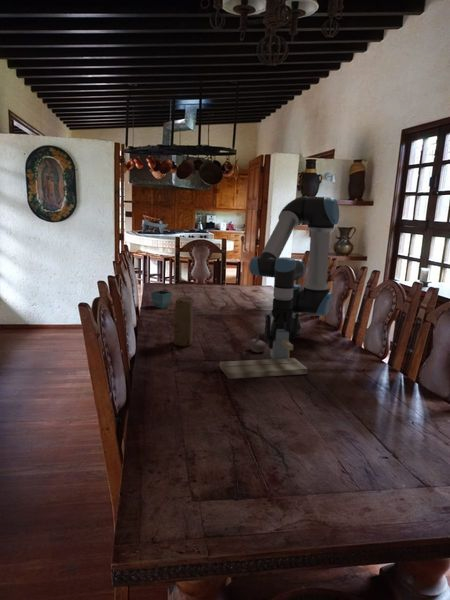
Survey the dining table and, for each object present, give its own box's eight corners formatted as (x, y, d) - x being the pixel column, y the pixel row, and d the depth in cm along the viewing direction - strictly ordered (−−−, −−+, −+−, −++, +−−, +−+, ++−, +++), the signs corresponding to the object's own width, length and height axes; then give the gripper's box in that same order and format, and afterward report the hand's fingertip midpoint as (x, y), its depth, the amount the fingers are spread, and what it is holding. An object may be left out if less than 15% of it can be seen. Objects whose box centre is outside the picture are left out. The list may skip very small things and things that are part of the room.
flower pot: (172, 307, 266) (172, 292, 264) (162, 309, 258) (162, 294, 256) (160, 305, 270) (160, 290, 268) (150, 307, 263) (150, 292, 261)
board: (293, 362, 177) (294, 357, 177) (307, 373, 166) (307, 368, 165) (219, 366, 169) (219, 361, 169) (228, 378, 158) (228, 372, 157)
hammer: (282, 357, 182) (284, 328, 180) (295, 369, 170) (297, 338, 168) (270, 358, 181) (272, 329, 179) (283, 369, 169) (285, 338, 166)
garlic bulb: (257, 347, 196) (258, 329, 194) (270, 351, 191) (271, 333, 189) (245, 350, 191) (246, 332, 189) (258, 354, 186) (259, 336, 184)
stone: (189, 347, 191) (191, 301, 187) (172, 346, 191) (173, 300, 187) (194, 340, 201) (195, 296, 197) (177, 339, 202) (178, 295, 198)
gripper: (300, 295, 180) (296, 352, 185) (257, 296, 175) (254, 354, 180) (308, 299, 173) (304, 358, 178) (264, 300, 168) (260, 360, 173)
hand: (279, 355), depth 179 cm, fingers closed on hammer, 5 cm apart
